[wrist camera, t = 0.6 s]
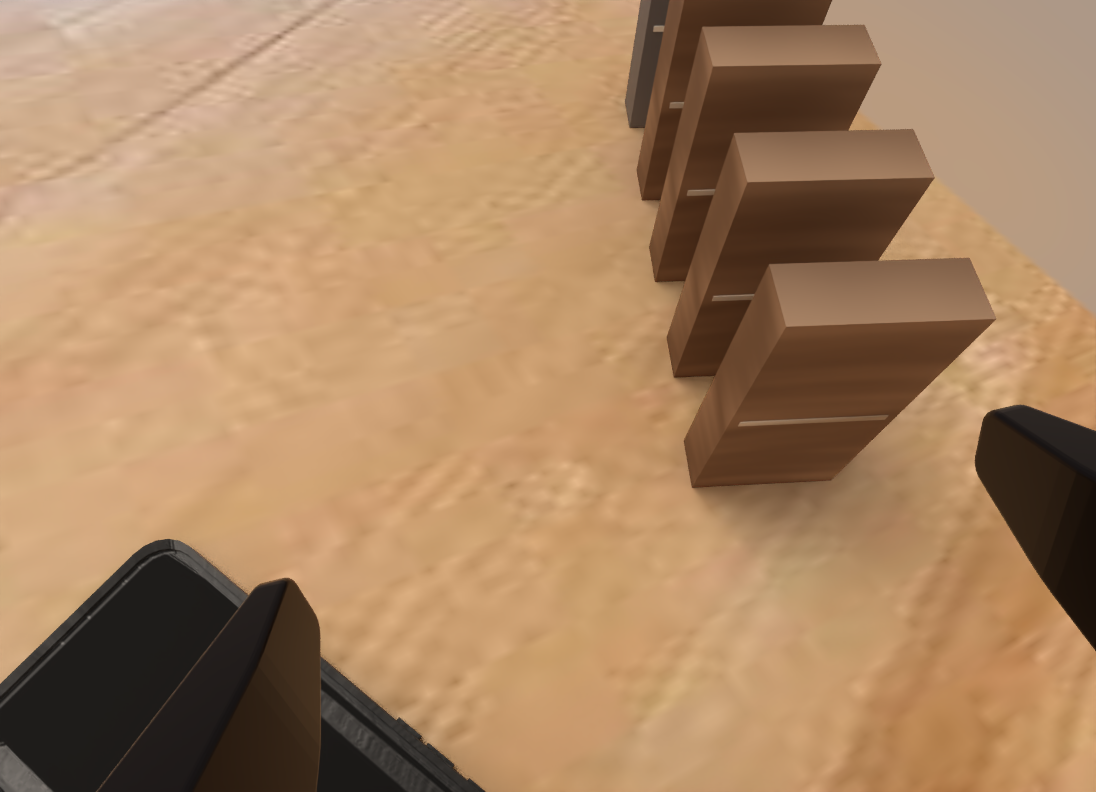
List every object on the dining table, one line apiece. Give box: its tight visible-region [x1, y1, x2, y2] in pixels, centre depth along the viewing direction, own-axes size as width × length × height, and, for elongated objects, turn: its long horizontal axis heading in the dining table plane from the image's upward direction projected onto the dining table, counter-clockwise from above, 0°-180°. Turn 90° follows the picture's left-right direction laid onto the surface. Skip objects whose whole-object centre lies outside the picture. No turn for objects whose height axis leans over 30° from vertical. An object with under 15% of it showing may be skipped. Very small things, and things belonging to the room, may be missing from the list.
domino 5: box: [684, 258, 996, 487], centre depth 21 cm, size 2×5×10 cm, turn 94°
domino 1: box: [625, 0, 669, 128], centre depth 30 cm, size 2×5×10 cm, turn 94°
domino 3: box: [649, 25, 881, 282], centre depth 25 cm, size 2×5×10 cm, turn 94°
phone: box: [0, 539, 485, 792], centre depth 20 cm, size 8×1×15 cm
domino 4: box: [667, 129, 935, 377], centre depth 23 cm, size 2×5×10 cm, turn 94°
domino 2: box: [637, 0, 832, 200], centre depth 28 cm, size 2×5×10 cm, turn 94°
